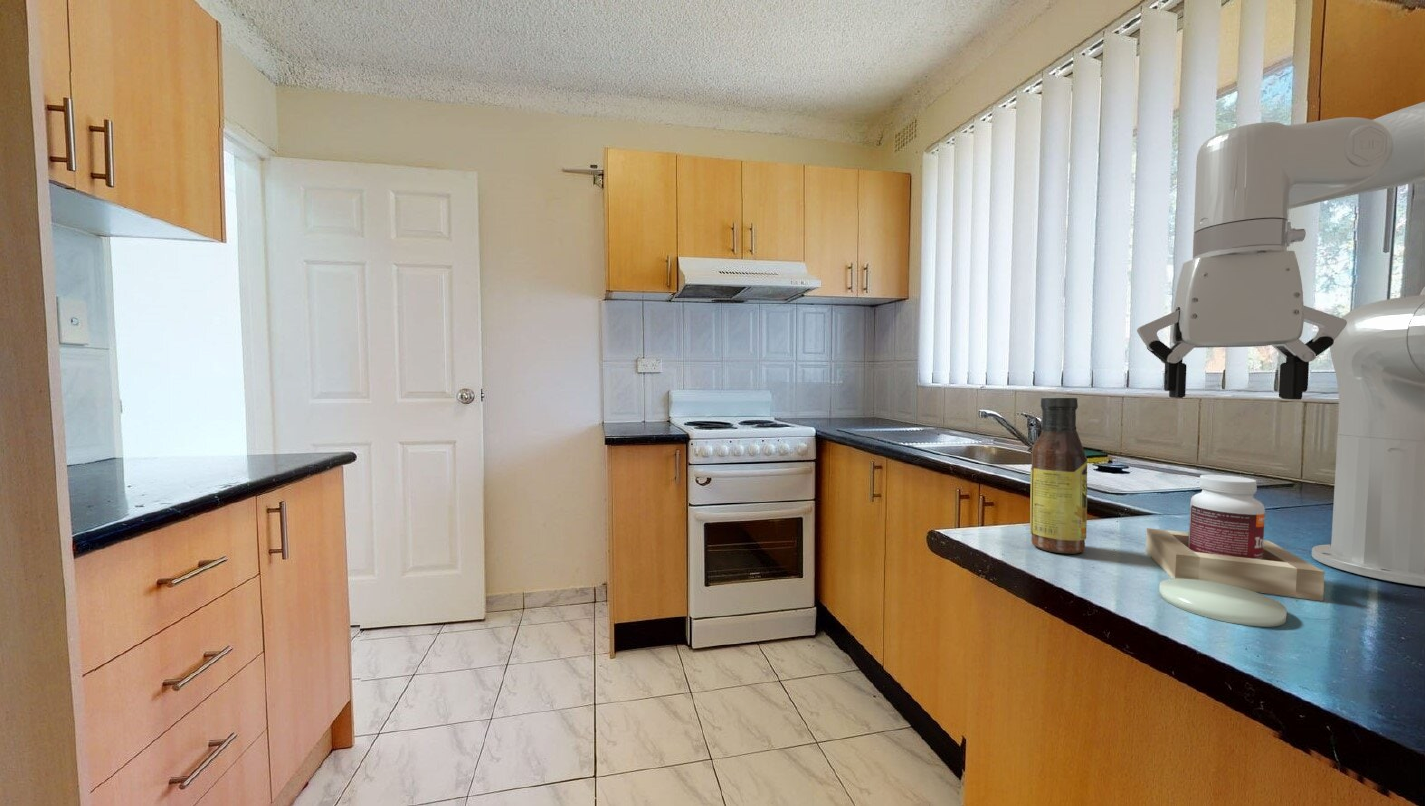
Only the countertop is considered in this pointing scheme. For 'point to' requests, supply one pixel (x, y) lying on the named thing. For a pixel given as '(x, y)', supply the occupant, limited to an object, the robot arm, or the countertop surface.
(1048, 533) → the sauce bottle
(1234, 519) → the pill bottle
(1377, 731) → the countertop surface
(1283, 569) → the wooden square frame
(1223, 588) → the saucer
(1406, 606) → the countertop surface
